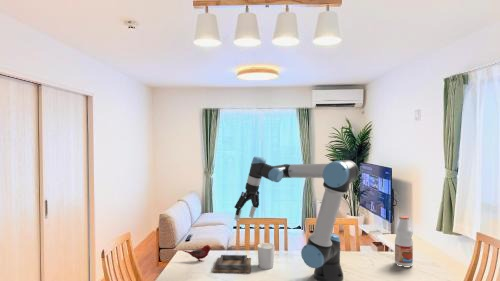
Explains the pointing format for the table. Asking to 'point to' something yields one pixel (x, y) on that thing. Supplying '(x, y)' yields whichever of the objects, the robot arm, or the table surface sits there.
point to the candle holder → (266, 255)
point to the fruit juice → (403, 243)
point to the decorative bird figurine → (200, 252)
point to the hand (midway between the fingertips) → (243, 218)
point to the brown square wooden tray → (232, 264)
